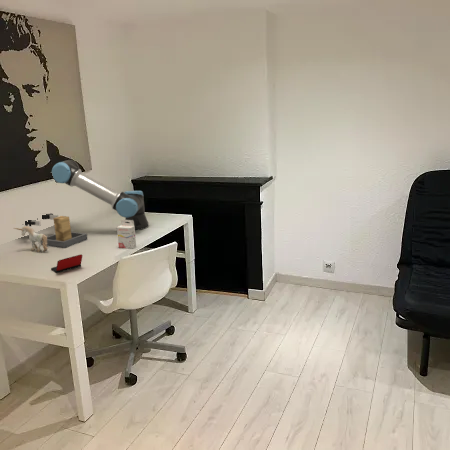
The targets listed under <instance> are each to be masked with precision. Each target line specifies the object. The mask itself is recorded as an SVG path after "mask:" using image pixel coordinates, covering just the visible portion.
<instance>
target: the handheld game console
mask: <svg viewBox="0 0 450 450" xmlns="http://www.w3.org/2000/svg"><path fill="white" fill-rule="evenodd" d="M82 262H83V254H78V255H73V256H70V257H66V258H62V259H59V260H57V263H56V266H54V267H51V268H50V271H53V272H54V273H55V274H60V273H62V272H67V271H70V270H73V269H77V268H78V269H79V268H81V267H82Z"/></svg>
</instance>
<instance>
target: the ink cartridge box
mask: <svg viewBox="0 0 450 450" xmlns="http://www.w3.org/2000/svg"><path fill="white" fill-rule="evenodd" d="M125 222H130V223H125ZM116 234H117V243H118V245H117V246H118V248H119V249H129V250H130V249H135V247H137V239H136V230H135V226H134V221H133V220H125V219H120V225H118V226H117V227H116Z"/></svg>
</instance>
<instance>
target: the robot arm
mask: <svg viewBox="0 0 450 450" xmlns="http://www.w3.org/2000/svg"><path fill="white" fill-rule="evenodd" d="M51 173H52V176H53V178H54V180H55V182H56V183H58V184H66V185H67V186H69V187H77V188H78V189H80V190H82V191H84V192H85V193H88V194H89V195H91V196H93V197H95V198H98V199H99V200H101V201H102V202H104V203H106V204H108V205H110V206H111V208H112V210H114V211H116V212H117V214H118V215H119V216H120V217H123V218H125V219H124V220H133V221H134V226H135V231H137V230H138V229H139V230H144V229H147V228H149V227H150V225H149V221H148V219H147V216H146V213H145V212H146V211H145V201H144V199H145V198H144V192H143V191H142V190H126V191H116V190H115V189H112V188H111V187H109V186H107V185H105V184H103V183H102V182H100V181H98V180H96V179H94V178H93V177H90V176H88V175H86V174H85V173H83V172H82V169H80V166H79V164H78V163H77V162H76V161H75V160H72V159H67V160H64V161H59V162H57V163H55V164H54V165H53V167H52V169H51ZM45 214H46V215H42V219H43V220H53V221H54V219H53V218H56V217H60V216H59V215H58V214H57V215H56V214H54V213H51V212H50V213H45ZM125 223H130V222H125ZM41 225H42V224H41V220H40V221H36V220H28V222H27V221H25V225H24V226H29V227H32V226H36V227H38V226H39V227H40V226H41ZM146 227H147V228H146ZM143 228H144V229H143Z"/></svg>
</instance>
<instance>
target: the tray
mask: <svg viewBox="0 0 450 450" xmlns="http://www.w3.org/2000/svg"><path fill="white" fill-rule="evenodd" d="M71 236H72V239H69V240H66V241H57V240H56V234H55V233H53V234H51V235H48V236H47V247H54V248H59V249H67V248H69V247H72V246H73V245H77V244H79V243H82V242H84V241H87V240H88V233H82V232H75V231H71ZM42 243H43V242H42V241H41V246H43V245H42Z"/></svg>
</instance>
